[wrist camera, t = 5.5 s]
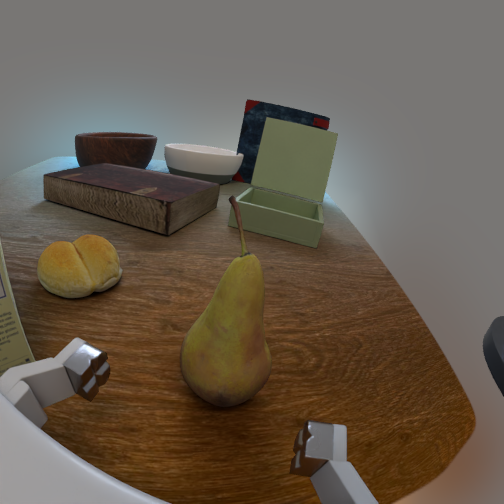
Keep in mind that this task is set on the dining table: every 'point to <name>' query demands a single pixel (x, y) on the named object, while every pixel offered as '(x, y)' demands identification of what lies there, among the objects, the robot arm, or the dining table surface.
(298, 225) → the chest
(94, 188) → the hardback book
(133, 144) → the wooden bowl
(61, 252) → the bread roll
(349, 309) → the dining table surface
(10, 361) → the box
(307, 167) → the chest lid
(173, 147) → the bowl
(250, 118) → the book
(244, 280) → the fruit
